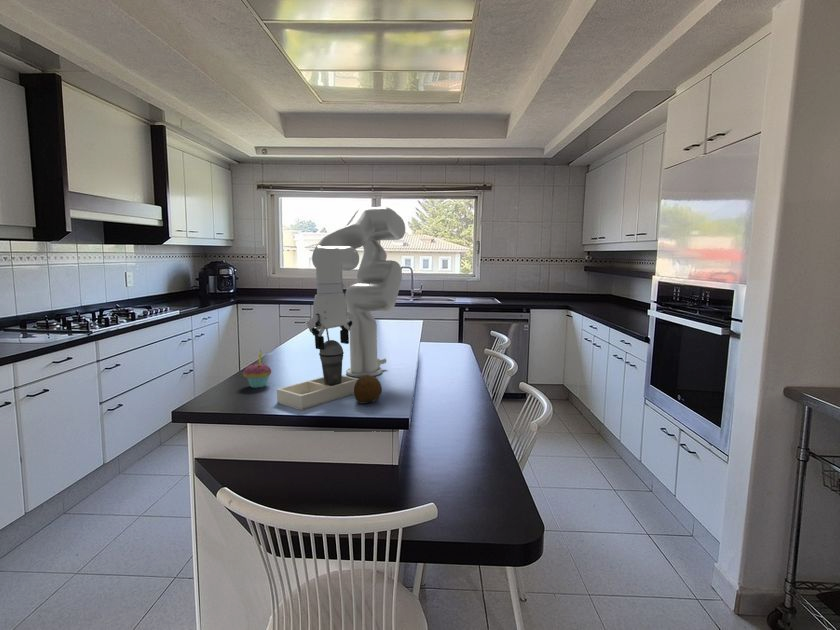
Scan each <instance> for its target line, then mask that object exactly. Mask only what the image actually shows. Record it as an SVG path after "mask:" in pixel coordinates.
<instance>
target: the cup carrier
mask: <svg viewBox="0 0 840 630" xmlns="http://www.w3.org/2000/svg"><path fill="white" fill-rule="evenodd" d="M358 379H359V378H358V377H353V376H349V375H342V381H341V384H338V385H334V386H328V385H325V384H324V376H322V377H318V378H315V379H314V378H313V379H310V380H306V381H303V382H302V381H301V382H298V383H295V384H290V385H287V386H283V387H280V388H276V403H277V404H280V405H283V406H286V407H289V406H290V407H289V408H292V407H293V408H292V409H296V410H299V411H305V410H308V409H310V408H314V407H317V406H321V405H323V404H326V402H327V403H330V402H333V401H336V400H339V399H342V398H345V397H344V396H346V397H348V395H349V396H351V394H352V395H354V387H355V384H356V382H357V380H358Z"/></svg>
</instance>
